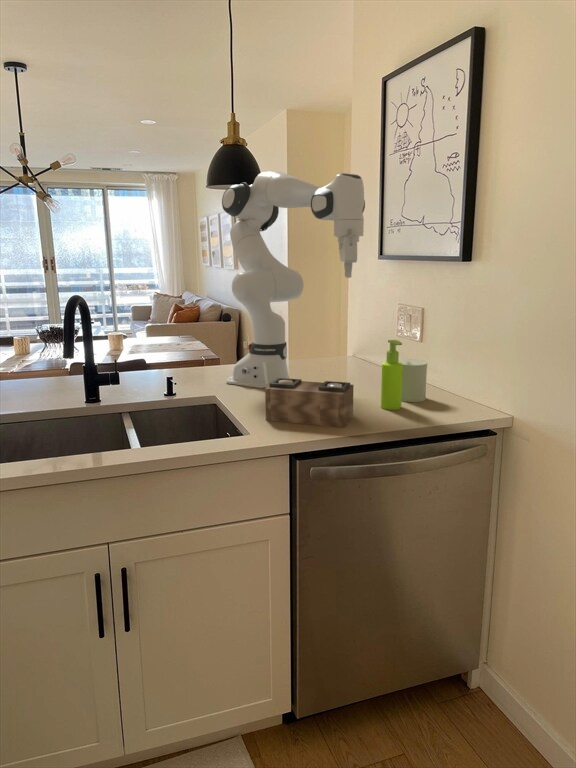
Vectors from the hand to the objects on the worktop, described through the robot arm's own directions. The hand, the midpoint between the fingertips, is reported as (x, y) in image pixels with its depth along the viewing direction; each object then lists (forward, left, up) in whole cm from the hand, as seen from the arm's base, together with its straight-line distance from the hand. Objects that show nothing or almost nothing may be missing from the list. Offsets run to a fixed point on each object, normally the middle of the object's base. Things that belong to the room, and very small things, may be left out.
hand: (348, 277), depth 171 cm
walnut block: (-4, -27, -37) cm, 46 cm away
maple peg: (-11, -27, -35) cm, 46 cm away
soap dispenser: (+16, -10, -37) cm, 42 cm away
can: (+20, +2, -37) cm, 42 cm away
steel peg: (+3, -27, -35) cm, 44 cm away
